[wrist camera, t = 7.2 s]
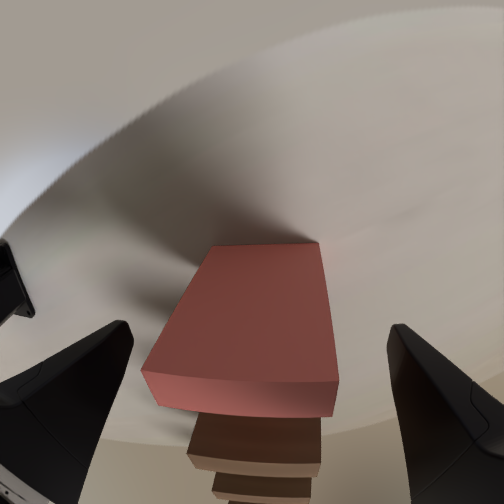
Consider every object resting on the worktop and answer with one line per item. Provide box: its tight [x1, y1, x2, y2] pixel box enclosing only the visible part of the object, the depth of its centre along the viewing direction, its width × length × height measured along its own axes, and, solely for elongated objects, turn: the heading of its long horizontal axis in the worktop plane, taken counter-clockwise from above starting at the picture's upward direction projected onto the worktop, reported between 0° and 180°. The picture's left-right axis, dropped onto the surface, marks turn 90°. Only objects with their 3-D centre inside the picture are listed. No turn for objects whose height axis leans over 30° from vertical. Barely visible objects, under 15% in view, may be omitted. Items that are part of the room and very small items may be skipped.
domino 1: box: [141, 243, 339, 418], centre depth 10 cm, size 2×5×8 cm, turn 95°
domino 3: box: [212, 472, 312, 504], centre depth 15 cm, size 2×5×8 cm, turn 95°
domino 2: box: [187, 412, 321, 477], centre depth 13 cm, size 2×5×8 cm, turn 95°
